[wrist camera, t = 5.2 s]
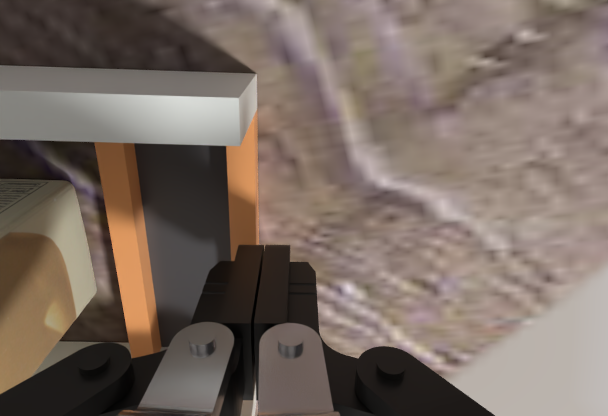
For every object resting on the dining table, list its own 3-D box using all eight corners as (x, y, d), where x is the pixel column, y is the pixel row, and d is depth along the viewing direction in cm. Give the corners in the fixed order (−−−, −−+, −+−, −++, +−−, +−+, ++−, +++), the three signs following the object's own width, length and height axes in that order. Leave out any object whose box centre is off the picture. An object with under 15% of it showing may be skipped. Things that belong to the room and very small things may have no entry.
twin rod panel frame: (-190, 59, 12) (-405, 77, 8) (256, 73, 12) (238, 97, 9) (-64, 359, 16) (-167, 456, 13) (260, 364, 17) (249, 462, 13)
